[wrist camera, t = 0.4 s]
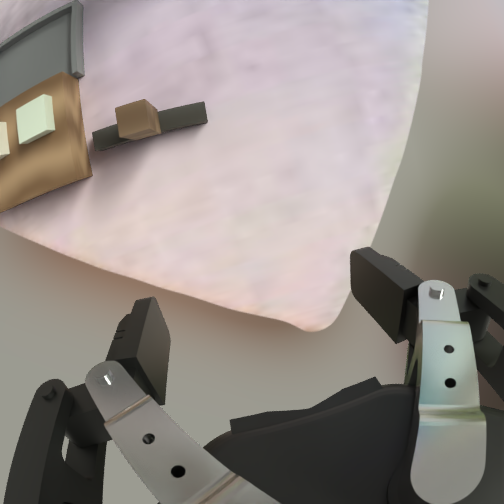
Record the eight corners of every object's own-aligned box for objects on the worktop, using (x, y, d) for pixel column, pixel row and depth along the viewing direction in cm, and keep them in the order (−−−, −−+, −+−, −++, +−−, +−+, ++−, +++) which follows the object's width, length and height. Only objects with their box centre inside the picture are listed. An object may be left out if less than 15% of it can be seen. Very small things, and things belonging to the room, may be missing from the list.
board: (-1, 122, 25) (-21, 121, 20) (78, 79, 26) (62, 71, 21) (12, 207, 30) (-6, 215, 25) (92, 175, 31) (77, 179, 26)
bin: (-7, 57, 20) (-15, 55, 17) (83, 5, 21) (77, -1, 19) (-7, 125, 24) (-17, 125, 22) (84, 75, 26) (77, 71, 24)
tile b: (24, 110, 22) (16, 109, 20) (51, 96, 22) (43, 94, 20) (28, 143, 23) (19, 144, 22) (55, 130, 24) (47, 129, 22)
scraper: (98, 131, 29) (66, 126, 21) (203, 102, 31) (203, 85, 22) (102, 152, 31) (70, 154, 22) (207, 125, 32) (208, 115, 23)
